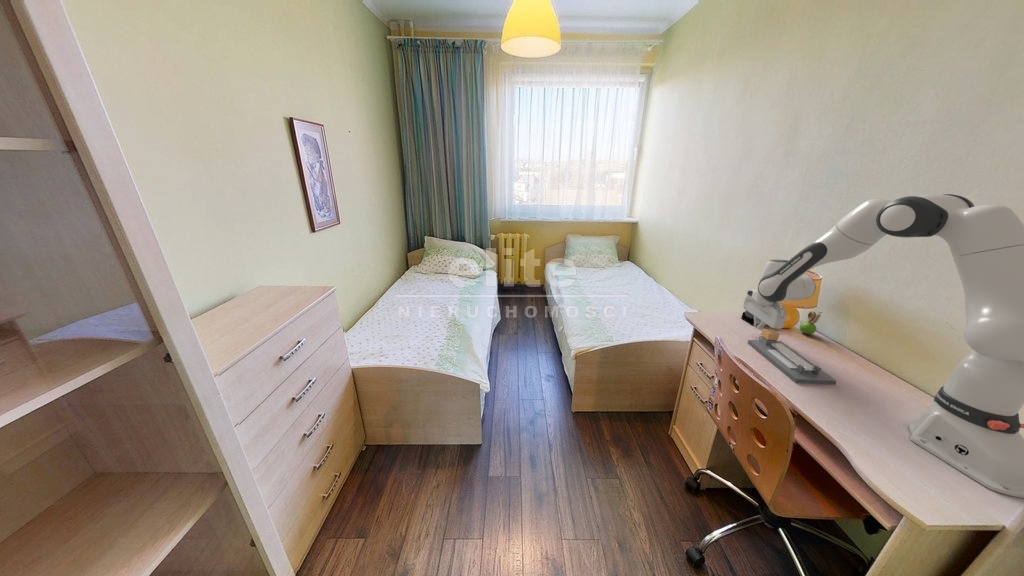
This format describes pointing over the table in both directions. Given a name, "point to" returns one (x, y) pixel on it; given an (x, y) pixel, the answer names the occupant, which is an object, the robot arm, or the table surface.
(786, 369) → the socket frame
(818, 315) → the snail figurine
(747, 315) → the cpu cooler
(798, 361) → the grey metal bar
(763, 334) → the tan small block
